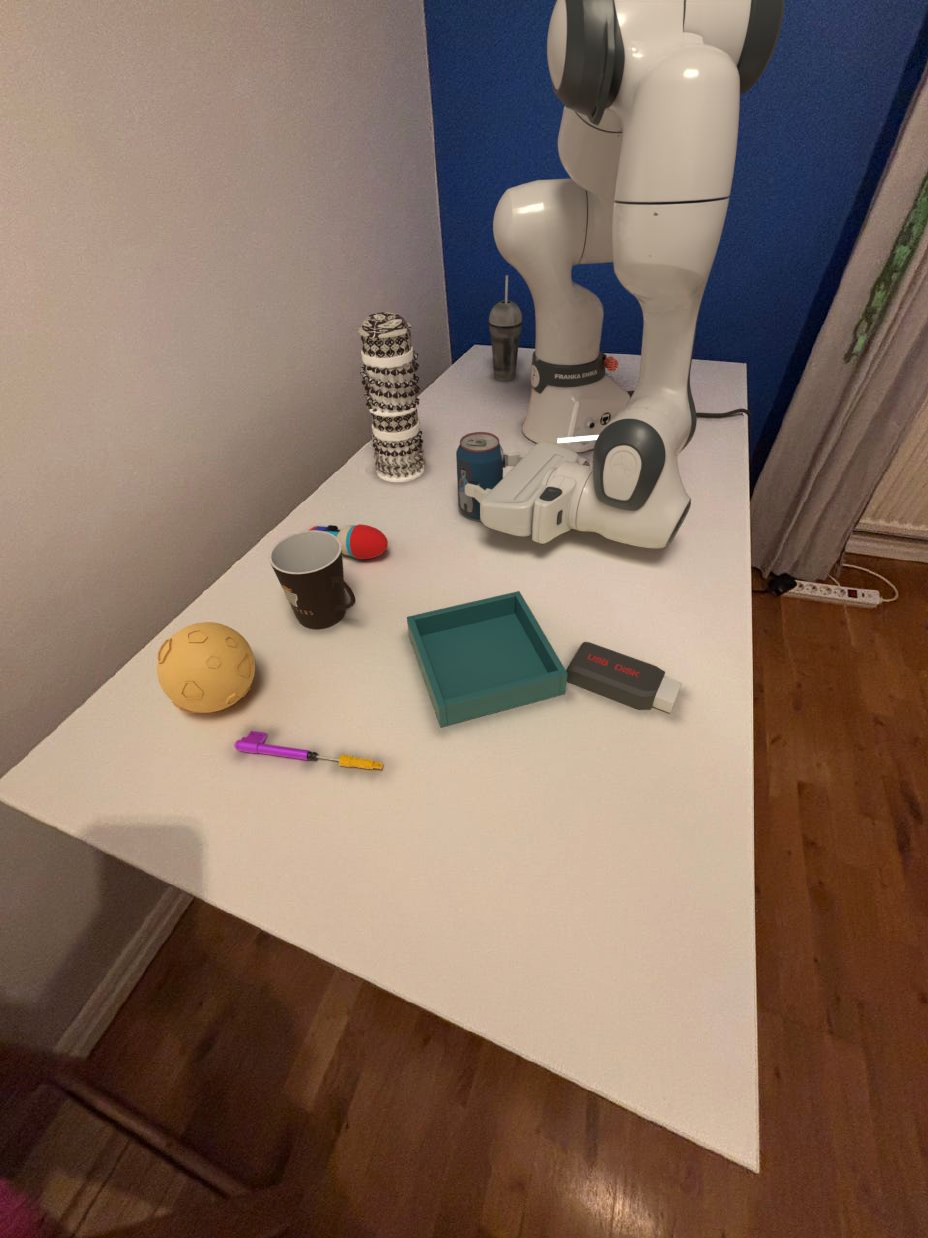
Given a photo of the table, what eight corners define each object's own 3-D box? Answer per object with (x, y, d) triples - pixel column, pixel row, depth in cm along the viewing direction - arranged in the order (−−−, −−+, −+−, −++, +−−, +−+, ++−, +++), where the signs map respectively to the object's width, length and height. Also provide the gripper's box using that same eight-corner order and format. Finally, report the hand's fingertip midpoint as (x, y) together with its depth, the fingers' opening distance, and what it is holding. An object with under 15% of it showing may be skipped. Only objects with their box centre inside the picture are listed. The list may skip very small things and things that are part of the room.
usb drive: (580, 651, 72) (583, 635, 70) (680, 688, 67) (686, 671, 65) (563, 680, 69) (565, 664, 67) (667, 721, 64) (672, 705, 62)
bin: (518, 610, 77) (519, 590, 75) (565, 694, 67) (567, 673, 65) (409, 636, 74) (406, 616, 72) (440, 727, 64) (438, 707, 62)
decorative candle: (436, 473, 103) (426, 318, 86) (389, 489, 100) (368, 331, 83) (412, 452, 109) (397, 303, 92) (366, 466, 106) (342, 315, 89)
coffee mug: (282, 601, 80) (263, 541, 73) (345, 584, 82) (331, 523, 75) (300, 659, 72) (281, 598, 65) (369, 638, 74) (357, 576, 68)
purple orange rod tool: (233, 752, 62) (381, 774, 60) (231, 743, 62) (380, 765, 60) (246, 735, 65) (388, 756, 62) (244, 727, 64) (388, 747, 62)
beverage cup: (486, 383, 131) (485, 281, 117) (490, 370, 136) (490, 271, 122) (519, 384, 130) (522, 282, 116) (522, 371, 135) (526, 272, 121)
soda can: (505, 501, 96) (507, 431, 88) (498, 525, 91) (499, 454, 83) (463, 497, 97) (461, 428, 89) (454, 521, 93) (450, 450, 84)
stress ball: (166, 688, 69) (130, 627, 63) (247, 652, 73) (222, 590, 67) (191, 747, 63) (155, 686, 57) (278, 703, 67) (254, 641, 60)
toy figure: (292, 563, 88) (377, 572, 82) (281, 533, 86) (368, 540, 80) (321, 538, 94) (403, 545, 88) (312, 510, 91) (396, 514, 85)
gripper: (597, 442, 89) (513, 424, 94) (540, 511, 76) (447, 485, 81) (592, 480, 93) (512, 460, 98) (537, 551, 80) (449, 524, 85)
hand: (482, 472), depth 90 cm, fingers open, 8 cm apart
